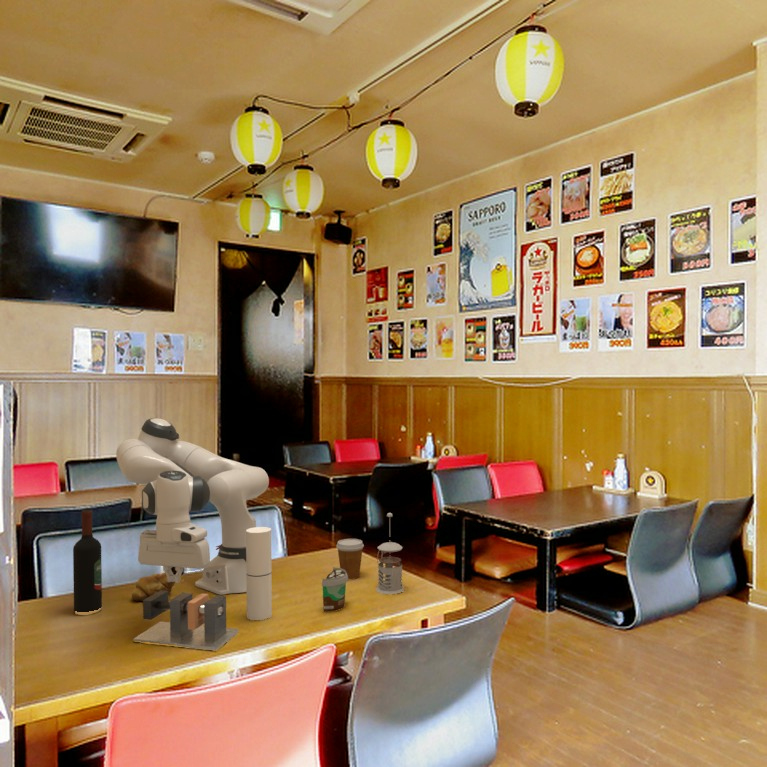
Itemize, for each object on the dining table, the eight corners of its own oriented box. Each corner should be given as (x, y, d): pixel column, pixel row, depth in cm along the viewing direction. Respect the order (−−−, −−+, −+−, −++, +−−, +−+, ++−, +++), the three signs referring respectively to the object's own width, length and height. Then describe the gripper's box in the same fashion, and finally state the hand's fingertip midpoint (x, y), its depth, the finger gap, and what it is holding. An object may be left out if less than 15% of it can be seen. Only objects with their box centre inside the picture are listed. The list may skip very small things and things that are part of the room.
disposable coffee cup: (352, 570, 223) (351, 537, 223) (369, 576, 216) (369, 541, 216) (331, 576, 217) (330, 541, 217) (348, 582, 210) (348, 547, 210)
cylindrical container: (250, 622, 176) (249, 533, 176) (244, 614, 182) (243, 528, 182) (275, 617, 179) (274, 530, 179) (267, 609, 186) (266, 525, 185)
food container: (342, 614, 181) (342, 580, 181) (322, 613, 182) (321, 579, 182) (352, 599, 193) (352, 567, 193) (333, 598, 194) (333, 566, 194)
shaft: (143, 619, 164) (142, 600, 164) (161, 608, 172) (160, 590, 172) (213, 626, 159) (213, 606, 159) (228, 614, 167) (228, 596, 167)
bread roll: (135, 606, 190) (135, 579, 190) (126, 597, 197) (126, 572, 197) (177, 596, 198) (177, 571, 198) (167, 588, 205) (166, 564, 205)
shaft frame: (133, 642, 163) (132, 601, 163) (160, 625, 175) (160, 586, 174) (216, 651, 157) (215, 608, 157) (238, 632, 169) (238, 592, 169)
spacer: (187, 629, 162) (187, 602, 162) (202, 619, 169) (201, 593, 169) (194, 630, 161) (194, 603, 161) (208, 619, 168) (208, 594, 168)
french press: (384, 596, 196) (384, 517, 196) (367, 586, 206) (366, 510, 206) (411, 591, 201) (410, 513, 200) (392, 581, 211) (391, 507, 211)
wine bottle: (74, 608, 188) (73, 509, 188) (102, 604, 191) (101, 507, 191) (73, 617, 181) (71, 514, 181) (101, 613, 184) (100, 511, 184)
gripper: (132, 532, 169) (133, 583, 169) (200, 536, 164) (200, 588, 164) (147, 526, 175) (147, 575, 175) (212, 530, 170) (213, 581, 170)
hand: (173, 582), depth 170 cm, fingers closed
